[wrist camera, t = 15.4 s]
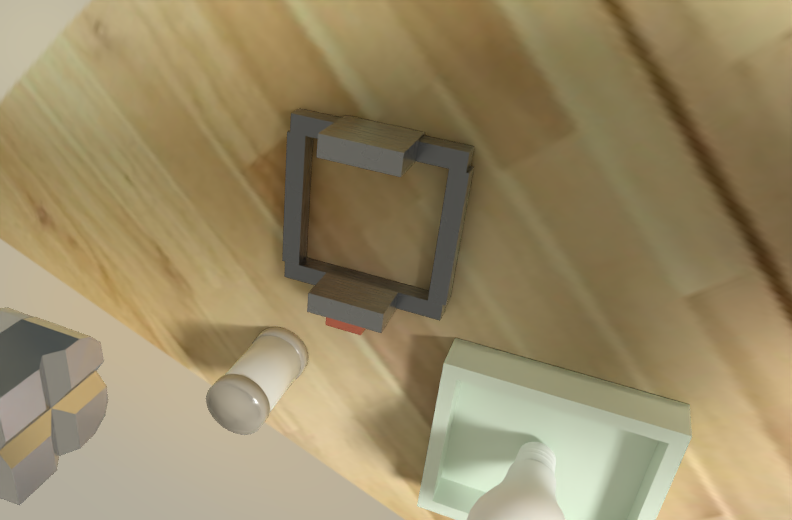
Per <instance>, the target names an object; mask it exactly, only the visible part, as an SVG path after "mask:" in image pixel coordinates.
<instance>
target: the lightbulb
mask: <svg viewBox="0 0 792 520" xmlns="http://www.w3.org/2000/svg"><path fill="white" fill-rule="evenodd" d="M555 466H556V457H555V454H554V452H553V451H552V450H551V449H550V448H549V447H548V446H547V445H545V444H543V443H540V442H528V443H526V444H524V445H522V446H521V448H520V449H519V452H518V454H517V456H516V459H515V462H514V463H513V464H512V465H511V466H510V467H509V469H508V472H507V474H506V476H505V478H504V480H503V481H502V482H501V483H500V484H499V485H497V486H495V487H493V488H492V489H491V490H489V491H488V492H486V493H485V494H484V495H482V496H481V497H480V498H479V499H478V500H477V502H476V503H475V504H474V506H473V507H472V508H471V510H470V512H469V515H468V517H467V520H566V519H565V517H564V514H563V512H562V510H561V509H560V507H559V505H558V503H557V500H556V493H555V492H556V478H555V475H554V474H555Z"/></svg>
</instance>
